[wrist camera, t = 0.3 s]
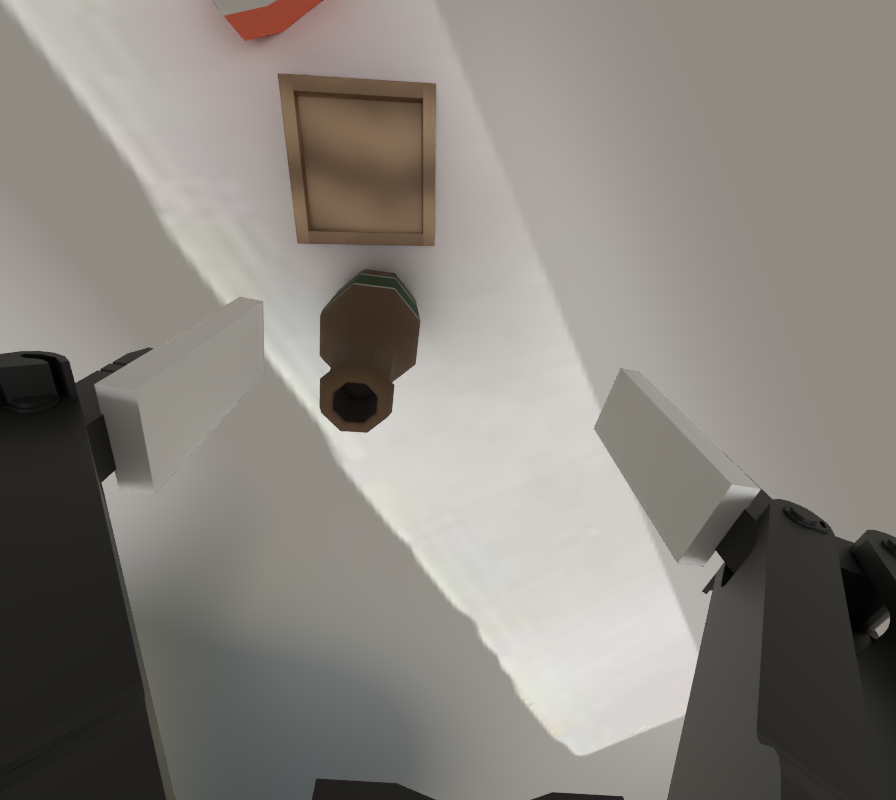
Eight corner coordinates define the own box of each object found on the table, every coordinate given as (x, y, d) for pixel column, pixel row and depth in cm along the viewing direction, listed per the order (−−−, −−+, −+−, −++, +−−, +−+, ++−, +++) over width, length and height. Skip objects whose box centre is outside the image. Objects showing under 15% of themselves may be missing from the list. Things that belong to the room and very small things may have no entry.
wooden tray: (286, 83, 33) (277, 73, 31) (433, 92, 34) (435, 83, 32) (303, 242, 38) (297, 243, 35) (432, 244, 39) (434, 245, 37)
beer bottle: (403, 257, 39) (410, 300, 17) (425, 332, 42) (454, 449, 21) (325, 279, 39) (236, 350, 17) (353, 353, 42) (308, 491, 21)
